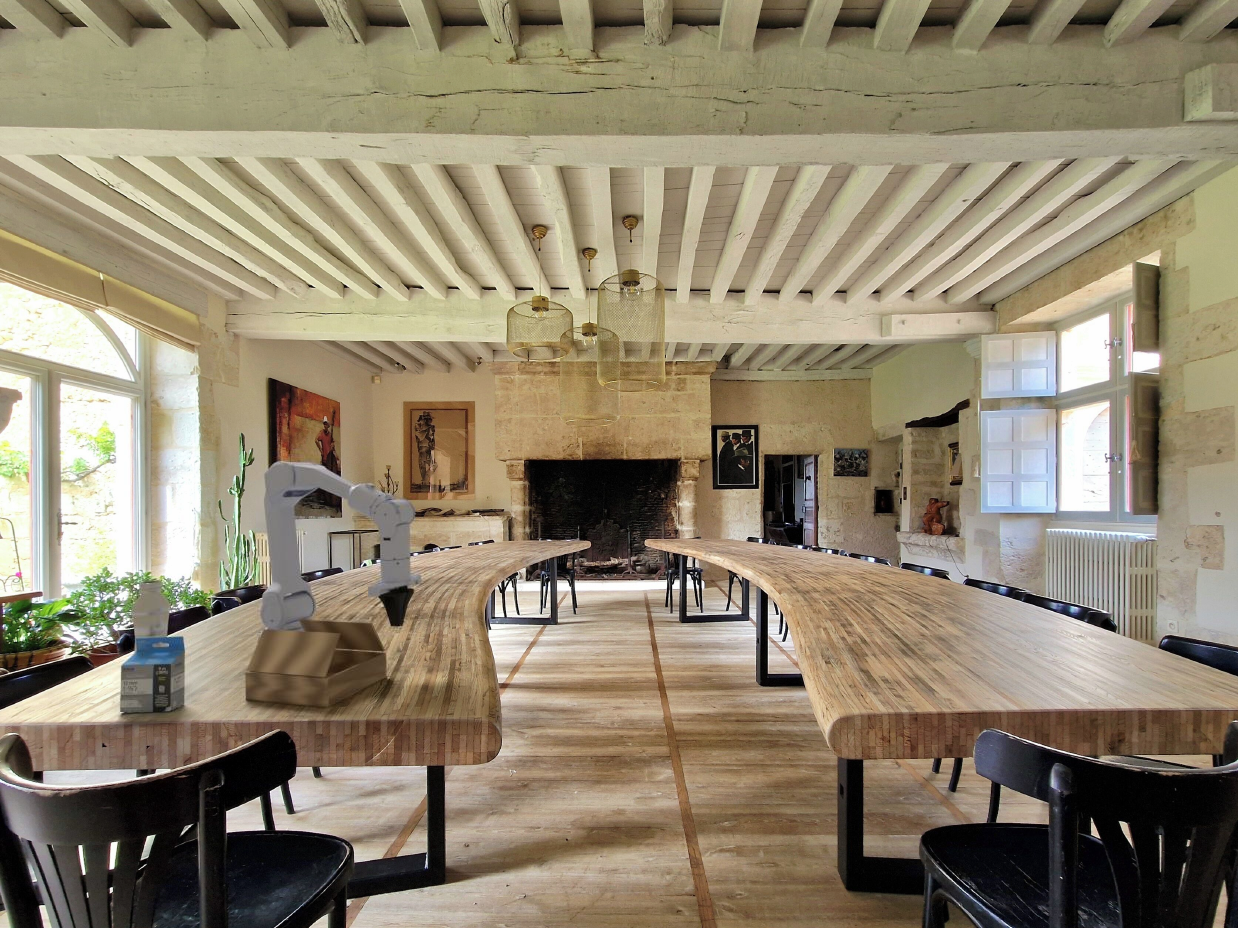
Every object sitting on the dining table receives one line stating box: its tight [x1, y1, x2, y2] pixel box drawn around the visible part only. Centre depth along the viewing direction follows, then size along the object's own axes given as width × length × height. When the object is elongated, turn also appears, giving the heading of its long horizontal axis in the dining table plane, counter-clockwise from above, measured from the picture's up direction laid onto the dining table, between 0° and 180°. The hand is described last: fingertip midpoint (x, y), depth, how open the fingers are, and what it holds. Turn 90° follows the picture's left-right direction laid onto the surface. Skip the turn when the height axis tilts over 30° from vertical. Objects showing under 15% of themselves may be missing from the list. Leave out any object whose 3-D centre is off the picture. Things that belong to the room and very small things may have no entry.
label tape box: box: [119, 635, 186, 713], centre depth 106 cm, size 9×4×12 cm, turn 92°
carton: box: [244, 649, 388, 709], centre depth 114 cm, size 18×16×5 cm
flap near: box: [246, 628, 340, 677], centre depth 108 cm, size 17×8×1 cm
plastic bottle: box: [131, 579, 171, 654], centre depth 122 cm, size 6×7×20 cm
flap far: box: [299, 618, 386, 652], centre depth 120 cm, size 17×8×1 cm
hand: (396, 625), depth 121 cm, fingers closed
